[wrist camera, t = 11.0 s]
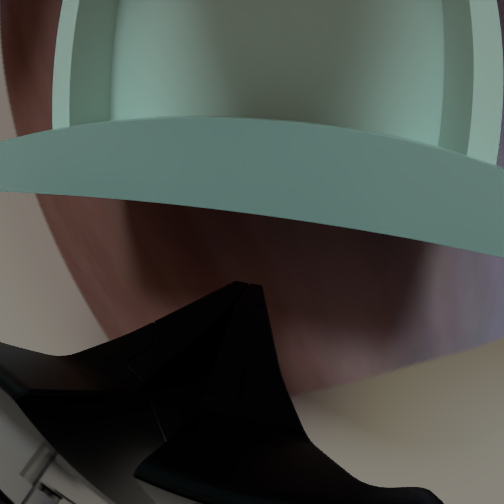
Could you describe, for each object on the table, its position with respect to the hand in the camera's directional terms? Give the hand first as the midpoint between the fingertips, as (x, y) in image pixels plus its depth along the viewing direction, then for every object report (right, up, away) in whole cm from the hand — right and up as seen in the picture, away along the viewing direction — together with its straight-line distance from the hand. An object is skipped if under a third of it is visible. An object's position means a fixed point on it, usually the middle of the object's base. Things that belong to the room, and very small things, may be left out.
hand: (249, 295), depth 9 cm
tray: (+1, +12, -4) cm, 12 cm away
